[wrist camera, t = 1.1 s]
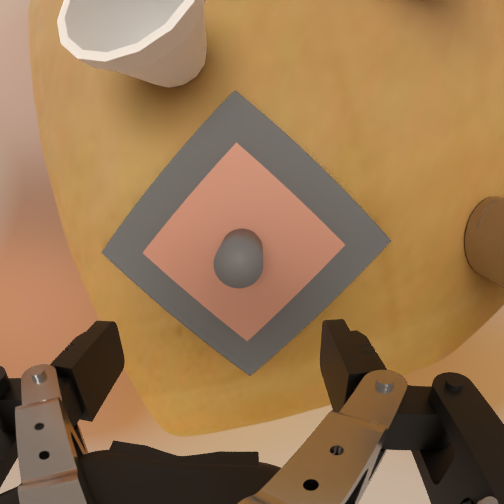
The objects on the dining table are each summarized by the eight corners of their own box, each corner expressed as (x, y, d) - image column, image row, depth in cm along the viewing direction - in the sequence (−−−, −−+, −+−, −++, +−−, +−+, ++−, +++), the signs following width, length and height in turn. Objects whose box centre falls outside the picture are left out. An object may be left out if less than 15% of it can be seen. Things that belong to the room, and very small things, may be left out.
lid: (342, 242, 29) (362, 259, 23) (247, 336, 31) (245, 370, 25) (237, 143, 27) (231, 135, 21) (145, 250, 29) (121, 268, 24)
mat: (388, 239, 29) (391, 240, 29) (250, 372, 33) (250, 375, 32) (235, 91, 26) (234, 90, 26) (104, 251, 30) (101, 252, 30)
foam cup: (244, 53, 25) (234, -21, 13) (172, 122, 27) (112, 90, 14) (177, 3, 24) (136, -71, 11) (111, 67, 26) (37, 22, 13)
